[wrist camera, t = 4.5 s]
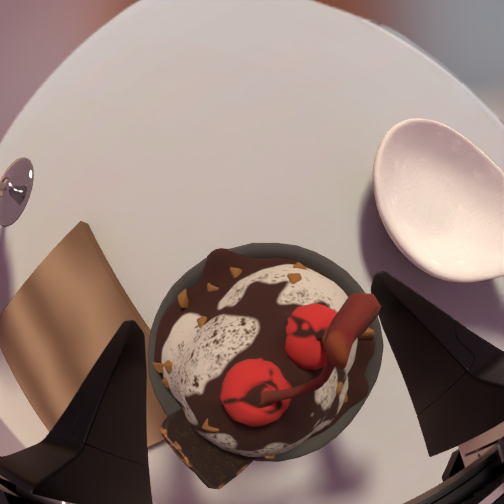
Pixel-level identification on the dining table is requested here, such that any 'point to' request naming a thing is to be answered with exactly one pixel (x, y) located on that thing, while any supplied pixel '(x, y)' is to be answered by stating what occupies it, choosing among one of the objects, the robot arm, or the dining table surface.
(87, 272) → the serving board
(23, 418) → the dining table surface
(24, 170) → the wine glass
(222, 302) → the sundae
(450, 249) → the spoon rest
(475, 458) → the robot arm
